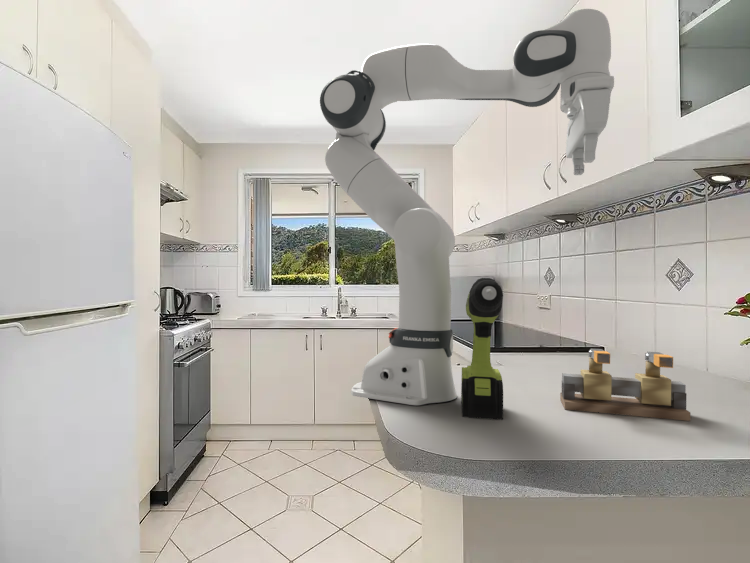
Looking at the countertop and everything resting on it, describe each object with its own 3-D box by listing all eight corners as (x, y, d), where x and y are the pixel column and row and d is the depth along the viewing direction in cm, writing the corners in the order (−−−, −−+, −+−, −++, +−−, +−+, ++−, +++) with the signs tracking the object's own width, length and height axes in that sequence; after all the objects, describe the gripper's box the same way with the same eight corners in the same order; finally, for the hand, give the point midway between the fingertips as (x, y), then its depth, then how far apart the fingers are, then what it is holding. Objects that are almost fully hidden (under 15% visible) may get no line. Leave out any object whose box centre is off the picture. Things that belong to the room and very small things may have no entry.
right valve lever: (643, 359, 88) (643, 349, 88) (658, 360, 87) (658, 350, 87) (657, 367, 80) (657, 356, 80) (674, 368, 79) (674, 357, 79)
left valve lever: (587, 356, 91) (587, 346, 91) (601, 357, 90) (601, 347, 90) (595, 363, 82) (595, 352, 82) (611, 364, 82) (611, 353, 82)
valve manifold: (564, 409, 87) (565, 359, 87) (560, 399, 95) (561, 353, 95) (690, 420, 81) (691, 367, 81) (674, 409, 89) (675, 360, 89)
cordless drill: (511, 439, 69) (514, 277, 69) (464, 436, 70) (467, 276, 70) (495, 401, 92) (498, 279, 92) (460, 399, 93) (463, 278, 93)
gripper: (559, 118, 98) (558, 181, 98) (577, 75, 79) (576, 154, 78) (590, 116, 97) (589, 180, 97) (617, 72, 77) (615, 152, 77)
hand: (583, 168), depth 87 cm, fingers open, 8 cm apart
